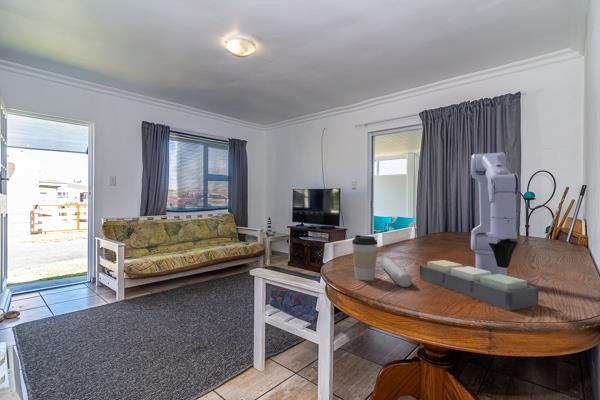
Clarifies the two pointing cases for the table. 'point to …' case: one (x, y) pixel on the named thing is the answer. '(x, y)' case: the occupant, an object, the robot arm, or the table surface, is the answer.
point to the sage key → (503, 282)
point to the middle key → (469, 272)
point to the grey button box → (482, 290)
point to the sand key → (443, 265)
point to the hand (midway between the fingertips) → (502, 266)
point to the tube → (396, 272)
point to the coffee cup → (364, 257)
